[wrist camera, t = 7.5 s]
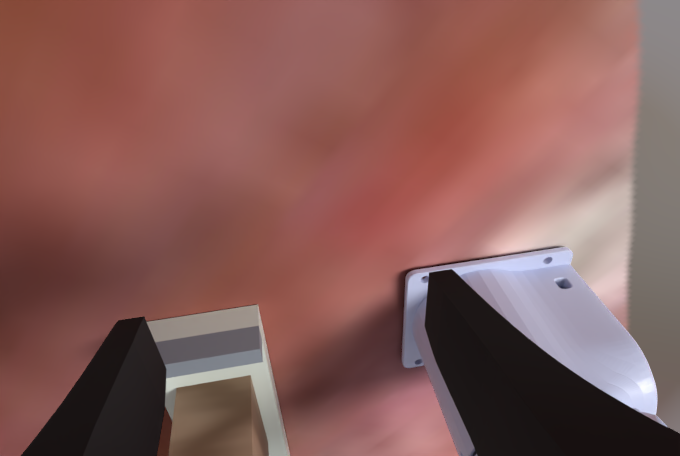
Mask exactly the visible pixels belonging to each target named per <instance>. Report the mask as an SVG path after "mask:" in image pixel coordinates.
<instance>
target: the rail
mask: <svg viewBox="0 0 680 456" xmlns="http://www.w3.org/2000/svg"><path fill="white" fill-rule="evenodd" d="M147 324H148V327H149V329H150V331H151V334H152V336H153V338H154V341H155V343H156V345H157V348H158V350H159V353H160V355H161V357H162V360H163V362H164V364H165V367H166V369H167V371H166V395H165V407H166V409H167V411H168V413H169V415H170V418H171V420H172V422H173V413H174V405H175V397H176V388H178V387H184V386H190V385H196V384H202V383H208V382H213V381H219V380H225V379H231V378H237V377H243V376H248V375H251V379H252V382H253V386H254V390H255V394H256V398H257V402H258V405H259V409H260V413H261V417H262V421H263V425H264V428H265V432H266V436H267V440H268V450H269V456H290V452H289V447H288V442H287V438H286V433H285V428H284V424H283V419H282V415H281V410H280V405H279V401H278V396H277V391H276V387H275V382H274V377H273V373H272V368H271V363H270V359H269V354H268V349H267V345H266V340H265V335H264V331H263V326H262V321H261V317H260V312H259V307H258V305H252V306H245V307H239V308H232V309H226V310H220V311H213V312H207V313H200V314H194V315H188V316H181V317H175V318H168V319H162V320H155V321H149V322H147Z"/></svg>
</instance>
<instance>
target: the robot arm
mask: <svg viewBox="0 0 680 456" xmlns="http://www.w3.org/2000/svg"><path fill="white" fill-rule="evenodd" d="M572 257H573V253H572V251H571V250H570V249H569V248H568V247H560V248H554V249H547V250H541V251H534V252H528V253H521V254H515V255H508V256H502V257H495V258H489V259H482V260H476V261H469V262H463V263H456V264H450V265H443V266H437V267H430V268H424V269H417V270H413V271H410V272H409V273H408V274H407V275H406V278H405V298H404V319H403V340H402V363H403V366H404V367H406V368H413V367H418V366H424V365H425V368H426V371H427V373H428V376H429V379H430V381H431V384H432V386H433V389H434V392H435V394H436V397H437V400H438V402H439V405H440V407H441V410H442V413H443V415H444V418H445V421H446V423H447V426H448V428H449V431H450V434H451V436H452V439H453V442H454V444H455V447H456V449H457V452H458V455H459V456H680V434H679V433H678V432H676V431H674V430H672V429H670V428H668V427H667V426H666V425H665V424H664V423H663V422H662V421H661V420H660V418H658V417H657V416H656V410H657V390H656V385H655V381H654V378H653V375H652V372H651V370H650V367H649V364H648V362H647V360H646V358H645V356H644V354H643V352H642V351H641V349H640V348H639V346H638V344H637V343H636V342H635V340H634V339H633V338H632V336H631V335H630V334H629V333H628V332H627V330H626V329H625V328H624V327H623V326H622V325H621V323H620V322H619V321H618V320H617V319H616V318H615V316H614V315H613V314H612V313H611V312H610V310H609V309H608V308H607V307H606V306H605V305H604V303H603V302H602V301H601V300H600V299H599V298H598V296H597V295H596V294H595V293H594V292H593V291H592V289H591V288H590V287H589V286H588V285H587V284H586V282H585V281H584V280H583V279H582V278H581V277H580V275H579V274H578V273H577V272H576V271H575V270H574V268H573V267H572V266H571V265H570V263H571V260H572ZM424 276H426V277H425V278H422V277H424ZM166 371H167V369H166V367H165V364H164V362H163V360H162V357H161V355H160V353H159V350H158V348H157V345H156V343H155V341H154V338H153V336H152V334H151V331H150V329H149V327H148V324H147V322H146V320H145V317H138V318H132V319H125V320H119V321H118V322H117V323H116V324H115V325H114V327H113V328H112V330H111V331H110V333H109V335H108V336H107V338H106V339H105V341H104V342H103V344H102V345H101V347H100V348H99V350H98V351H97V353H96V354H95V356H94V357H93V359H92V360H91V362H90V363H89V365H88V366H87V368H86V369H85V371H84V372H83V374H82V375H81V377H80V378H79V379H78V381H77V382H76V384H75V385H74V387H73V388H72V389H71V391H70V392H69V394H68V395H67V397H66V398H65V399H64V401H63V402H62V404H61V405H60V406H59V408H58V409H57V410H56V412H55V413H54V414H53V416H52V417H51V418H50V419H49V421H48V422H47V423H46V425H45V426H44V427H43V429H42V430H41V431H40V432H39V434H38V435H37V436H36V438H35V439H34V440H33V441H32V443H31V444H30V445H29V446H28V448H27V449H26V450H25V451H24V452H23V454H22V455H21V456H157V451H158V445H159V439H160V434H161V428H162V422H163V416H164V410H165V395H166Z"/></svg>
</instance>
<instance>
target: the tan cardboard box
mask: <svg viewBox="0 0 680 456" xmlns="http://www.w3.org/2000/svg"><path fill="white" fill-rule="evenodd" d="M168 456H269V450H268V440H267V436H266V432H265V428H264V425H263V421H262V417H261V413H260V409H259V405H258V402H257V398H256V394H255V390H254V386H253V382H252V379H251V375H248V376H243V377H237V378H231V379H225V380H219V381H213V382H208V383H202V384H196V385H190V386H184V387H178V388H176V397H175V405H174V413H173V422H172V430H171V438H170V446H169V455H168Z"/></svg>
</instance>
